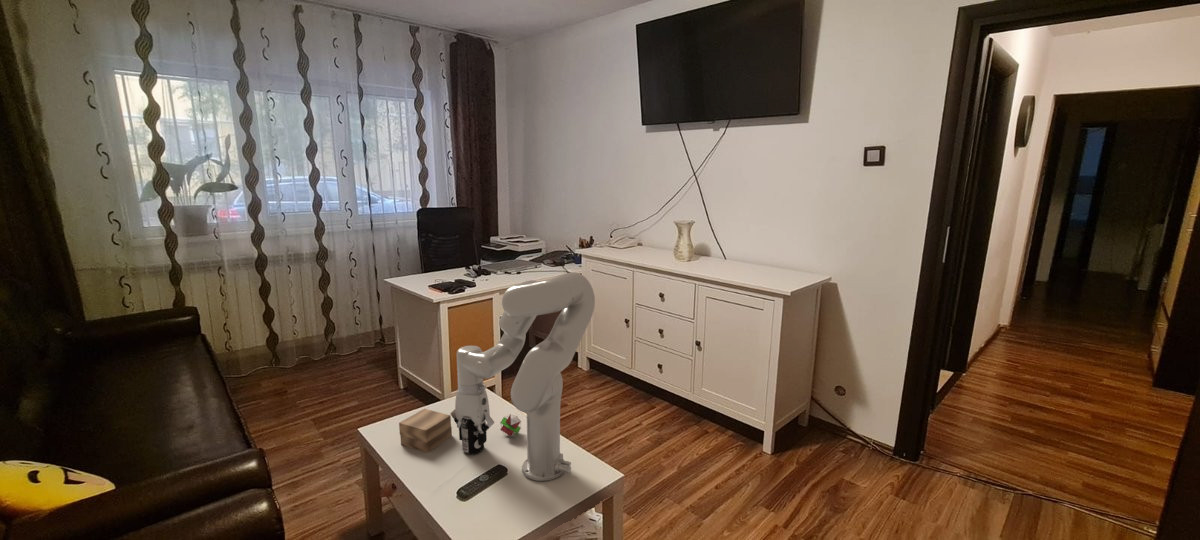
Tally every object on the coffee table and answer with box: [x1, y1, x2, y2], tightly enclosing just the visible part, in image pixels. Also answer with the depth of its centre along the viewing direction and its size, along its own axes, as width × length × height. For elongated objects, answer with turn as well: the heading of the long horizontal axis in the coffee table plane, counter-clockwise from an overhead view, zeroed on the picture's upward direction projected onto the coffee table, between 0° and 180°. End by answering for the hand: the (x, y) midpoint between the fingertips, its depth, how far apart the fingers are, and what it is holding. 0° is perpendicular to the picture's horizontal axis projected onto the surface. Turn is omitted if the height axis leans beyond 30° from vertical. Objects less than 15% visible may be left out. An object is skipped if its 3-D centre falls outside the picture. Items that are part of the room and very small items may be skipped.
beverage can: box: [461, 417, 485, 456], centre depth 157 cm, size 7×7×12 cm
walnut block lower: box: [399, 426, 453, 454], centre depth 163 cm, size 11×11×4 cm
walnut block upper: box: [398, 408, 452, 443], centre depth 162 cm, size 11×11×4 cm
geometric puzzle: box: [499, 413, 522, 436], centre depth 166 cm, size 7×7×8 cm
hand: (472, 440), depth 158 cm, fingers closed on beverage can, 6 cm apart
